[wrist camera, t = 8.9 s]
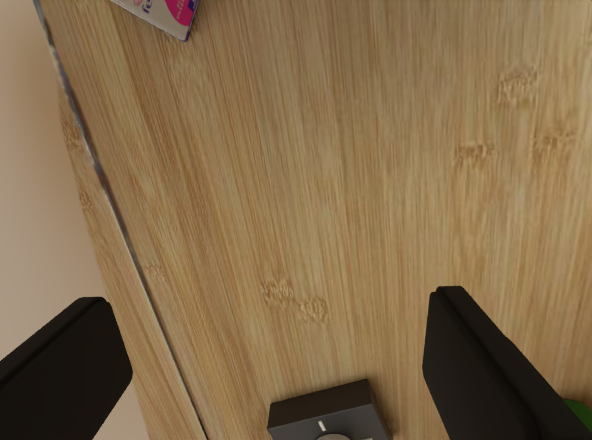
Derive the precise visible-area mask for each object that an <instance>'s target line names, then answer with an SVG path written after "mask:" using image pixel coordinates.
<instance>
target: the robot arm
mask: <svg viewBox="0 0 592 440" xmlns="http://www.w3.org/2000/svg"><path fill="white" fill-rule="evenodd" d="M422 369H423V375H424V379H425V382H426V384H427V386H428V389H429V391H430V393H431V396H432V398H433V400H434V403H435V405H436V407H437V410H438V412H439V414H440V417H441V419H442V422H443V424H444V426H445V429H446V431H447V433H448V436H449V438H450V440H592V433H591V432H590V430H589V429H588V428H587V427H586V426H585V425H584V424H583V422H582V421H581V420H580V419H579V418H578V417H577V416H576V414H575V413H574V412H573V411H572V410H571V409H570V408H569V406H568V405H567V404H566V403H565V402H564V401H563V400H562V398H561V397H560V396H559V395H558V394H557V393H556V392H555V390H554V389H553V388H552V387H551V386H550V385H549V384H548V382H547V381H546V380H545V379H544V378H543V377H542V376H541V374H540V373H539V372H538V371H537V370H536V369H535V368H534V366H533V365H532V364H531V363H530V362H529V361H528V359H527V358H526V357H525V356H524V355H523V354H522V353H521V351H520V350H519V349H518V348H517V347H516V346H515V345H514V343H513V342H512V341H510V340H509V339H508V338H507V337H505V335H504V334H503V333H502V332H501V331H500V330H499V328H498V327H497V326H496V325H495V324H494V323H493V322H492V320H491V319H490V318H489V317H488V316H487V315H486V313H485V312H484V311H483V310H482V309H481V308H480V307H479V305H478V304H477V303H476V302H475V301H474V300H473V298H472V297H471V296H470V295H469V294H468V293H467V292H466V290H465V289H464V288H463V287H462V286H439V287H438V288H437V289H436V292H431V294H430V298H429V308H428V317H427V327H426V336H425V346H424V355H423V365H422ZM132 375H133V370H132V366H131V363H130V360H129V357H128V354H127V351H126V348H125V345H124V342H123V339H122V336H121V333H120V330H119V327H118V325H117V322H116V319H115V316H114V313H113V310H112V307H111V304H110V303H109V302H107V301H106V300H105V299H104V298H103V297H82V298H79V299H77V300H76V301H74V302H73V303H72V304H71V305H69V306H68V307H67V308H66V309H64V310H63V311H62V312H61V313H59V314H58V315H57V316H56V317H54V318H53V319H52V320H51V321H50V322H49V323H47V324H46V325H45V326H43V327H42V328H41V329H40V330H38V331H37V332H36V333H35V334H33V335H32V336H31V337H30V338H28V339H27V340H26V341H25V342H23V343H22V344H21V345H20V346H18V347H17V348H16V349H15V350H14V351H12V352H11V353H10V354H8V355H7V356H6V357H5V358H3V359H2V360H1V361H0V440H92V439H93V438H94V436H95V435H96V433H97V432H98V430H99V429H100V427H101V426H102V424H103V423H104V421H105V420H106V418H107V417H108V415H109V414H110V412H111V411H112V409H113V408H114V406H115V405H116V403H117V402H118V400H119V398H120V397H121V396H122V394H123V393H124V391H125V390H126V388H127V386H128V385H129V384H130V382H131V379H132Z"/></svg>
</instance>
